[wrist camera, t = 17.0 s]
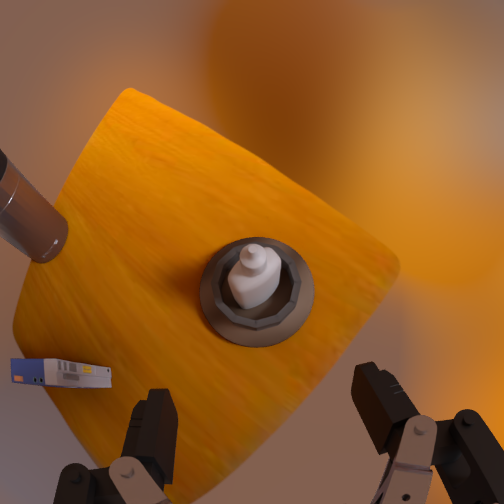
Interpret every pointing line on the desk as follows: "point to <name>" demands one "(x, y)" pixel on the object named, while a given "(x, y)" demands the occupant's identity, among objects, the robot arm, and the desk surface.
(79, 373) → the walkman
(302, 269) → the bottle collar
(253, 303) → the eye dropper bottle
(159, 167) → the desk surface
